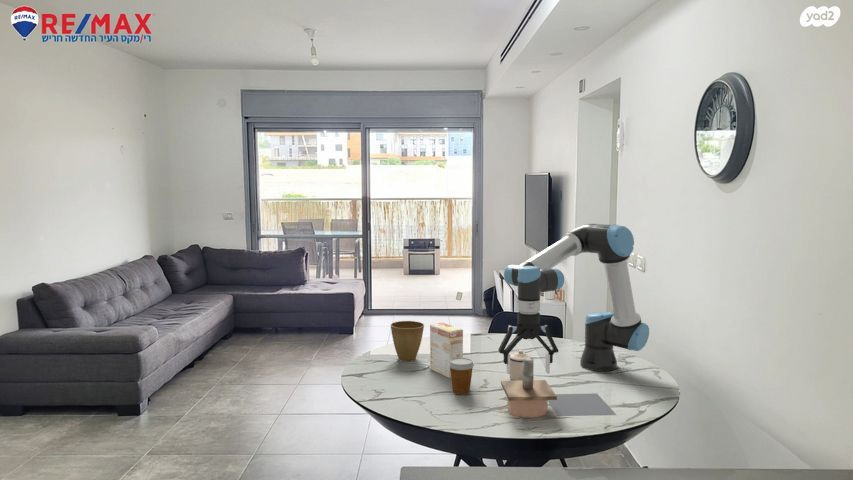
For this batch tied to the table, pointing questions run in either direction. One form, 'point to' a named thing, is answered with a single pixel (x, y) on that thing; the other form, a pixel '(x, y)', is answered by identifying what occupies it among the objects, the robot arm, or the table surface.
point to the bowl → (527, 408)
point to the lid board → (528, 394)
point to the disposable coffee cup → (461, 375)
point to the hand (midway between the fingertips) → (527, 372)
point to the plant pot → (407, 339)
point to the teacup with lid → (517, 365)
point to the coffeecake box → (444, 347)
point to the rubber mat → (580, 405)
